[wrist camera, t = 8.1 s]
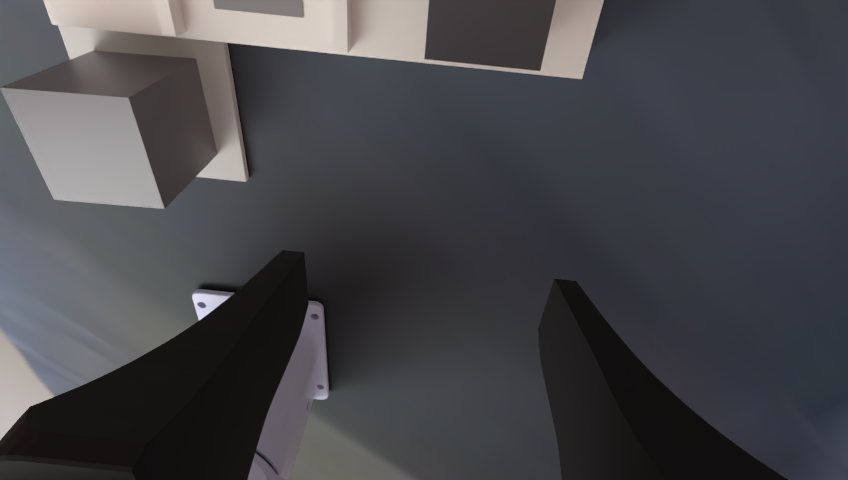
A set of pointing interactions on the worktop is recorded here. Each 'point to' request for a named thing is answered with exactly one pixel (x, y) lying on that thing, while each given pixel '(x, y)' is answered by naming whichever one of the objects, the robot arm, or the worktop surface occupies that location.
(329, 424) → the worktop surface
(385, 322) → the worktop surface
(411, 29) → the power strip
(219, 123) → the mat
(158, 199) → the block
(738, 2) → the worktop surface
